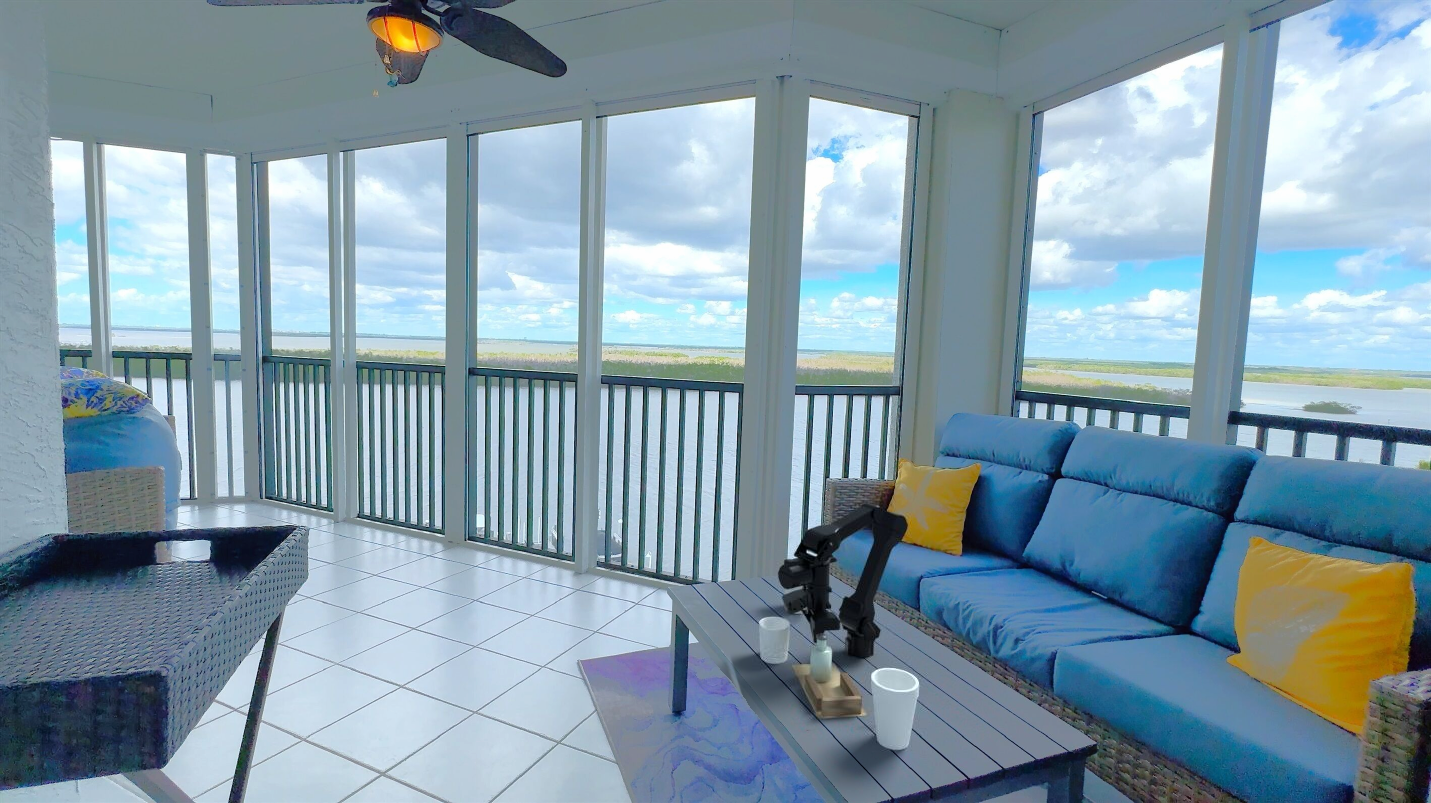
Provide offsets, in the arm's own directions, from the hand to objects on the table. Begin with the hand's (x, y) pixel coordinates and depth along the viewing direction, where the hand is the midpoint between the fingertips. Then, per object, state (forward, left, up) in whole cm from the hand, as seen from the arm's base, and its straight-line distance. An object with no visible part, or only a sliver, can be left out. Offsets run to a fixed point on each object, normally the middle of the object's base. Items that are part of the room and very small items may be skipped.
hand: (815, 642), depth 156 cm
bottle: (0, +5, -6) cm, 8 cm away
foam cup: (-8, +29, -8) cm, 31 cm away
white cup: (+9, -6, -8) cm, 14 cm away
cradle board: (0, +10, -8) cm, 12 cm away
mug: (-6, -35, -8) cm, 37 cm away
